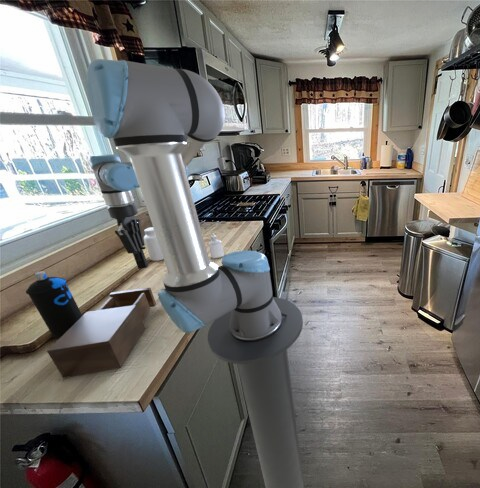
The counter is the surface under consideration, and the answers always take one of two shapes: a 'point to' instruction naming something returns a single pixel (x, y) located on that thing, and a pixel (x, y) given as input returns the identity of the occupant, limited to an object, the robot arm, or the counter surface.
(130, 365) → the counter surface
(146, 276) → the counter surface
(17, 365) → the counter surface
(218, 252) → the eye dropper bottle
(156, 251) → the pill bottle
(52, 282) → the aerosol can
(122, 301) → the drawer
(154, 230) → the robot arm
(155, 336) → the counter surface
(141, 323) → the cabinet
